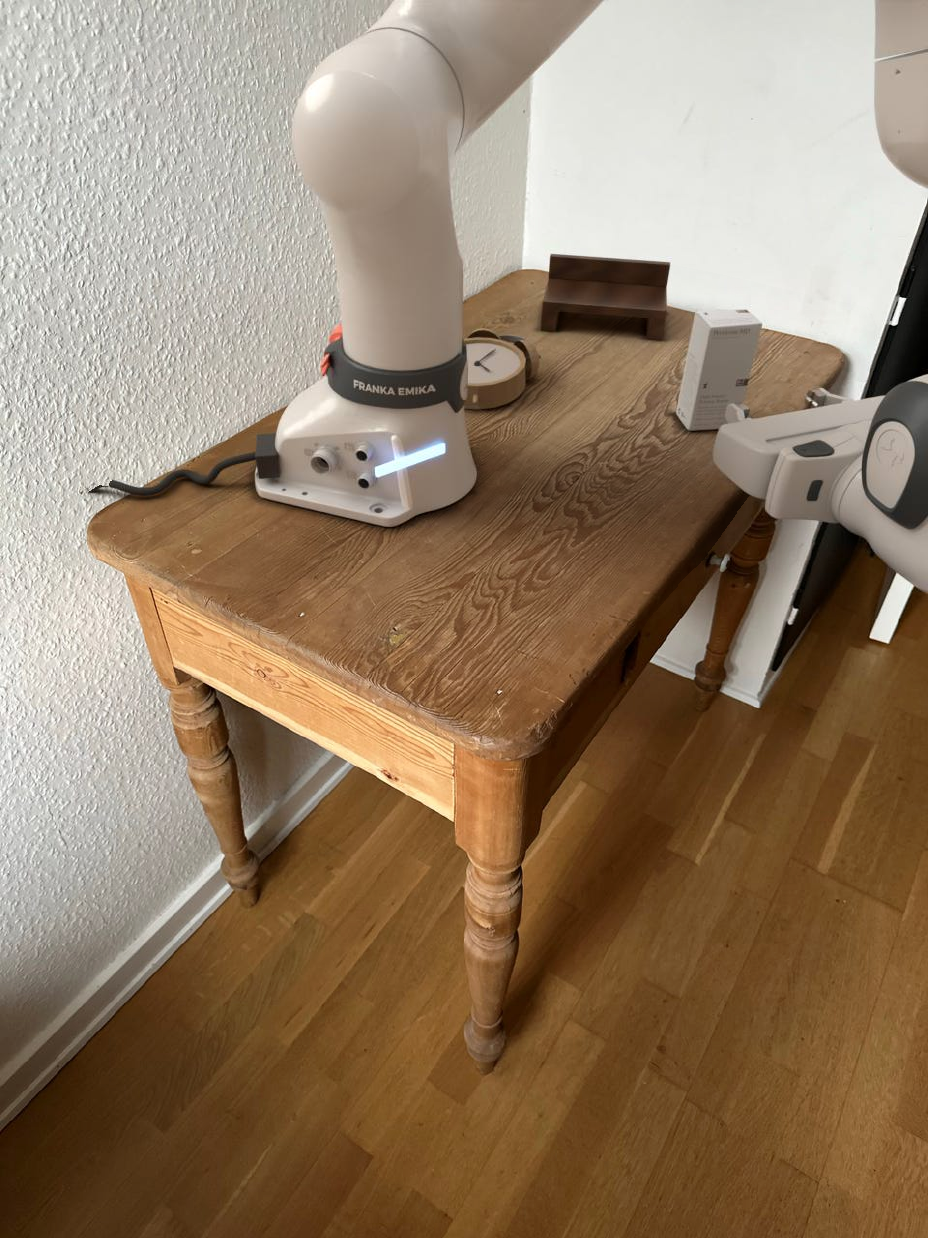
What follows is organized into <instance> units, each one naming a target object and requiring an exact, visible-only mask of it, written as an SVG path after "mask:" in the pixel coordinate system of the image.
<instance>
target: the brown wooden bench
mask: <svg viewBox="0 0 928 1238" xmlns="http://www.w3.org/2000/svg"><path fill="white" fill-rule="evenodd" d="M548 264H549V267H548V278H547V282H546V287H545V291H544V295H543V299H542V305H541V318H540V319H541V320H540V331H542V332H556V331H557V327H558V322H559V317H560V312H561V313H562V312H566V313H575V314H576V313H577V314H590V315H601V316H613V317H614V316H615V317H616V316H617V317H627V318H628V317H629V318H639V319H646V340H654V341H663V337H664V331H665V325H666V318H667V313H668V299H667V297H668V295H667V294H668V290H667V287H668V282H669V276H670V271H671V262H670V261H659V260H658V261H657V260H646V259H645V260H644V259H629V258H616V257H602V256H587V255H572V254H560V253H550V255H549V263H548Z"/></svg>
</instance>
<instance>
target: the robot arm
mask: <svg viewBox="0 0 928 1238" xmlns="http://www.w3.org/2000/svg"><path fill="white" fill-rule="evenodd" d="M604 1H605V0H393V1H392V2H391V3H390V5H389V6H388V8H387V9H386V10H385V11H384V13H383V14H382V15H381V16H380V17H379V19H378V20H377V21H376V22H375V23H374V24H372V26H370V27H369V28H368V29H366V31H364V32H363V33H361V35H360V36H358V37H356V38H355V39H353V40H352V41H350V42H349V43H347V44H345V45H344V46H342V47H340V48H338V49H337V50H335V51H333V52H331V53H330V54H329V55H328V56H326V57H325V58H324V59H323V60H321V62H320V63H319V64H318V65H317V67H316V68H315V69H314V71H313V72H312V74H311V75H310V78H309V79H308V81H307V83H306V85H305V86H304V88H303V91H302V92H301V95H300V98H299V100H298V102H297V104H296V107H295V110H294V113H293V116H292V121H291V122H292V123H291V144H292V145H291V146H292V150H293V156H294V158H295V162H296V165H297V167H298V169H299V171H300V174H301V175H302V178H303V179H304V181H305V182H306V184H307V185H308V187H309V188H310V189H311V190H312V191H313V193H314V194H315V195H316V196H317V199H318V203H319V206H320V208H321V213H322V216H323V220H324V223H325V226H326V230H327V235H328V237H329V240H330V245H331V248H332V249H331V250H332V253H333V257H334V263H335V268H336V276H337V287H338V299H339V310H340V321H341V324H338V325H336V326H335V328H334V329H333V330H332V333H331V334H330V335H329V338H328V342H329V344H328V345H327V346H326V347H325V349H324V351H323V359H322V360H321V362H320V368H321V377H322V378H320V379H319V380H318V381H316V382H315V383H313V384H312V385H310V386H309V387H307V388H306V389H304V390H303V391H301V392H300V393H299V394H297V395H296V396H295V397H294V398H293V399H292V400H291V402H290V403H289V404H288V405H287V407H286V408H285V410H284V412H283V413H282V415H281V417H280V420H279V422H278V425H277V427H276V428H277V429H276V432H271V433H257V434H256V439H255V441H256V442H255V451H251V452H248V453H243V454H238V455H235V456H231V457H229V458H226V459H223V460H221V461H220V462H218V463H217V464H215V465H214V466H213V467H212V469H211V470H210V471H209V473H208V474H207V475H204V476H203V475H201V474H198V472H195V471H193V470H190V469H185V468H182V469H177V470H174V471H172V472H170V473H169V474H167V475H166V476H165V477H164V478H163V479H162V480H161V481H159V482H158V483H157V484H155V485H153V486H147V487H139V486H134V485H130V484H127V483H124V482H121V481H119V480H115V479H112V481H110V483H109V486H110V487H108V486H102V485H99V486H97V487H95V488H94V489H92V490H91V491H89V492H88V493H87V494H94V493H96V492H97V491H98V490H100V489H102V488H110V489H115V490H118V491H120V492H122V493H123V492H124V493H127V494H130V495H133V496H140V497H149V496H154V495H157V494H160V493H162V492H163V491H165V490H166V489H167V488H168V487H169V486H171V484H172V483H173V482H174V481H176V480H178V479H181V478H187V479H189V480H192V481H193V482H195V483H197V484H200V485H203V486H204V485H210V484H212V483H213V482H215V480H216V479H217V478H218V477H219V475H220V473H222V471H224V470H226V469H228V468H231V467H232V466H233V467H234V466H237V465H241V464H245V463H249V462H254V461H255V463H256V467H255V472H254V485H255V490H256V492H257V494H258V496H259V497H260V498H262V499H266V500H270V501H273V502H277V503H278V502H279V503H283V504H286V505H291V506H296V507H300V508H303V509H307V510H313V511H317V512H322V513H325V514H329V515H334V516H338V517H343V518H347V519H350V520H351V519H352V520H356V521H359V522H363V523H368V524H372V525H375V526H380V527H386V528H387V527H388V528H390V527H391V528H392V527H397V526H399V525H401V524H403V523H405V522H407V521H409V520H411V519H412V518H414V517H415V516H419V515H420V514H424V513H427V512H431V511H436V510H440V509H442V508H445V507H447V506H450V505H452V504H454V503H456V502H457V501H459V500H461V499H462V498H463V497H465V496H466V495H467V494H468V493H470V491H471V490H472V489H473V487H474V486H475V483H476V482H477V477H478V472H477V471H478V470H477V467H476V464H475V461H474V458H473V455H472V450H471V446H470V440H469V435H468V430H467V421H466V412H465V409H464V404H465V401H466V398H467V389H468V360H467V346H466V343H465V341H464V339H465V338H463V328H464V327H463V325H464V324H463V319H464V318H463V317H464V258H463V254H462V252H461V249H460V247H459V243H458V238H457V231H456V226H455V218H454V212H453V204H452V192H451V191H452V189H451V174H452V166H453V162H454V157H455V156H456V154H457V153H458V152H459V151H460V150H461V149H462V147H463V146H464V145H465V144H466V143H467V142H468V141H469V139H471V137H472V136H473V135H475V133H476V132H477V131H478V130H479V129H480V128H481V127H483V125H484V124H486V122H487V121H488V120H489V119H490V118H491V117H492V115H494V114H495V112H496V111H497V110H499V108H501V106H502V105H504V104H505V103H506V101H507V100H508V99H509V98H510V97H512V96H513V95H514V93H515V92H516V91H517V90H519V88H521V86H522V85H523V84H525V82H527V80H528V79H529V78H530V77H531V76H532V75H533V74H534V73H536V71H537V70H539V69H540V67H541V66H543V65H544V64H545V63H546V62H547V61H548V60H549V59H550V58H551V57H553V55H554V54H555V53H556V52H557V51H558V50H559V48H560V47H561V46H563V44H564V43H566V41H567V40H568V39H569V38H571V36H572V35H573V34H574V33H575V32H576V31H577V30H578V29H579V28H580V26H582V24H584V22H585V21H587V19H588V18H589V17H590V16H591V15H592V14H593V13H594V12H595V11H596V10H597V9H598V8H599V7H600V6H601V5H602V4H603V2H604ZM882 58H883V59H882ZM874 59H880V60H877V61H874V77H873V83H874V84H873V89H874V90H873V109H874V121H875V127H876V132H877V136H878V140H879V144H880V148H881V150H882V152H883V154H884V155H885V157H886V158H887V159H888V161H889V162H890V163H891V165H893V166H894V168H896V170H898V171H899V172H900V174H902V175H903V176H905V177H906V178H907V179H908V180H910V181H911V182H913V183H915V184H917V185H919V186H921V187H923V188H925V189H927V190H928V0H874ZM806 395H807V396H806V397H805V400H804V404H805V407H807V408H806V409H801V410H796V411H791V412H785V413H779V414H773V415H767V416H763V417H758V418H752V417H748V416H750V413H751V408H750V406H748V405H746V404H745V403H744V401H743V402H739V403H732V404H728V405H727V408H726V412H725V419H726V421H727V422H729V423H728V424H724V425H722V426H721V427H720V428H719V429H718V431H717V434H716V436H715V440H714V445H713V450H712V461H713V464H714V465H715V466H716V467H717V469H718V470H719V471H721V473H723V474H724V475H725V476H726V477H727V478H728V479H729V480H730V481H731V482H732V483H734V484H735V485H736V486H737V487H738V488H740V489H741V490H742V491H743V492H745V493H746V494H747V495H750V496H751V497H753V498H757V499H759V500H765V502H764V510H765V512H766V513H767V514H768V515H769V516H770V517H772V518H774V519H777V520H803V521H816V522H823V523H827V524H840V525H841V526H843V528H845V529H846V530H847V531H849V532H850V533H852V534H854V535H857V536H859V537H862V538H863V539H865V540H866V541H867V543H868V544H869V546H870V548H871V550H872V552H873V553H874V554H875V555H876V556H877V557H878V558H879V559H880V560H881V561H882V562H883V563H885V564H886V565H887V566H888V567H889V568H891V569H892V570H893V571H894V572H895V573H897V574H898V575H899V576H900V577H902V578H903V579H904V580H906V581H907V582H908V583H909V584H910V585H912V586H914V587H915V588H917V589H918V590H920V591H921V592H923V593H924V594H926V595H928V373H927V374H923V375H921V376H918V377H915V378H912V379H909V380H907V381H905V382H901V383H899V384H897V385H895V386H894V387H892V388H891V389H890V390H889V391H887V393H886V394H885V395H879V396H875V397H873V396H872V397H867V398H862V399H852V398H850V397H846V396H842V395H838V394H834V393H830V392H829V391H828V390H826V389H825V388H823V387H818V388H814V389H809V390H808V391H807V393H806Z"/></svg>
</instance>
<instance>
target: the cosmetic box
mask: <svg viewBox="0 0 928 1238" xmlns="http://www.w3.org/2000/svg"><path fill="white" fill-rule="evenodd" d="M762 327H763V322H762V321H760V320H759V318H758V317H756V316H755V315H754V314H752V312H750V311H749V310H748V309H746V308H738V309H735V308H734V309H727V308H726V309H724V308H723V309H714V310H699V311H698V310H697V311H696V312H695V313H694V318H693V323H692V328H691V333H690V337H689V343H688V348H687V353H686V358H685V365H684V369H683V373H682V380H681V384H680V390H679V394H678V400H677V404H676V410H675V414H676V416H677V417H678V419H679V420H680V422H681V423H682V424H683V426H684V427H685V429H687V431H689V432H690V431H691V432H692V431H708V430H719V428H720V427H721V426H722V425H724V424H728V423H729V422H727V421H726V419H725V412H726V408H727V405H728V404H732V403H739V402H743V403H744V401H745V397H746V393H747V389H748V385H749V381H750V376H751V372H752V369H753V365H754V360H755V356H756V351H757V348H758V344H759V340H760V335H761V332H762Z"/></svg>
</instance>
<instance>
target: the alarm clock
mask: <svg viewBox="0 0 928 1238" xmlns="http://www.w3.org/2000/svg"><path fill="white" fill-rule="evenodd" d="M463 339H464V341H465V343H466V346H467V360H468V389H467V398H466V401H465V404H464V410H485V409H486V410H487V409H494V408H498V407H501V406H504V405H508V404H509V403H511V402H513V401H514V400H516V399H517V398H519V397H520V395H522V393H523V392H524V391H525V387H526V381H528V380H531V379H532V378H533V377H535V376H536V374H537V373H538V372H539V371H538V370H539V368H540V359H541V358H542V355H541V354H540V353H538V351H537V349H536V346H535V345H534V343H533V342H532V341H531V340H530V339H528V338H526V337H524V336H521V335H516V334H508V333H507V334H506V333H504V334H498V333H497V332H496V331H495V330H493V329H491V328H486V327H481V328H476V329H474V330H473V331H471V332H470V333H469V334H468V335H467V338H463Z"/></svg>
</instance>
